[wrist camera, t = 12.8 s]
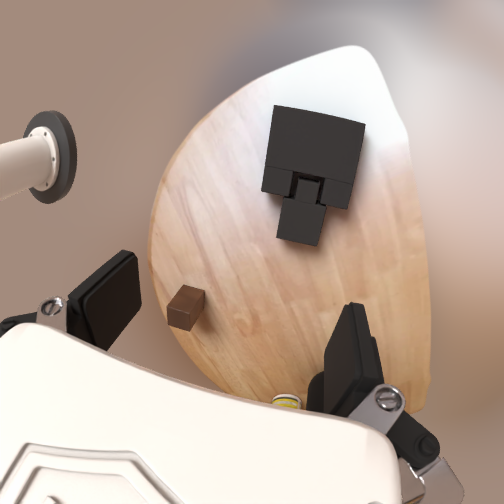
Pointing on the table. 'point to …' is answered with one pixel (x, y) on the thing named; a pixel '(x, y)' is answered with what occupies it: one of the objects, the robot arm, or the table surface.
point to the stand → (185, 307)
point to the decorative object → (316, 394)
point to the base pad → (313, 153)
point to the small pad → (302, 214)
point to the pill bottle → (287, 401)
